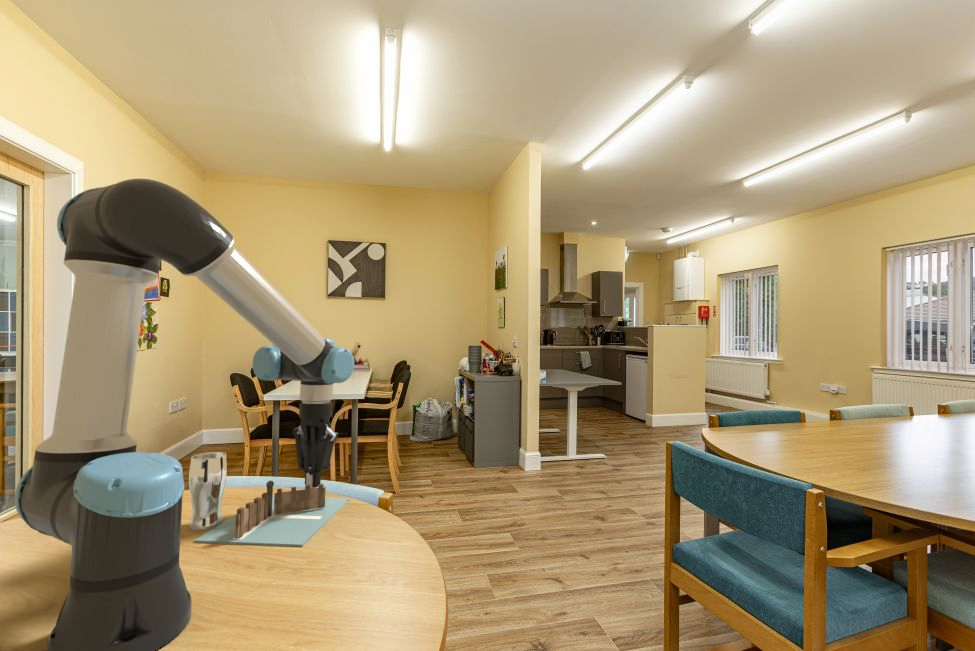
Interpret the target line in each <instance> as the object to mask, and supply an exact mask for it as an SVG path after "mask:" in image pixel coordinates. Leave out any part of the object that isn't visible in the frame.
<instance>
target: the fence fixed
mask: <svg viewBox="0 0 975 651" xmlns="http://www.w3.org/2000/svg"><path fill="white" fill-rule="evenodd" d="M265 486H266V492H263V493H262V494H261V497H259V496H258V497H255V498H254V499H253V502H252V501H248V502H247V503H245V507H239V508H237V509H236V514H235V515H236V527H235V538H241V537H242V536H243V534H244V533H245V532H249V531H251V530H252V527H254V526H258V525H259V524H260V522H261V521H262V520H266V519H267V517H270V516H272V497H273V496H274V495H273V494H274V493H273V492H274V486H275V482H274V481H273V480H267V482H266V485H265Z"/></svg>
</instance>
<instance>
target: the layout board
mask: <svg viewBox="0 0 975 651" xmlns="http://www.w3.org/2000/svg"><path fill="white" fill-rule="evenodd" d="M349 499H350V498H349V497H348V498H345V497H342V498H341V497H325V507H323V508H316V509H309V510H302V511H295V512H287V513H281V514H274V495H273V497H272V516H270V517H267V519H266V520H262V521H261V522H260V524H259V525H258V526H254V527H252V530H251V531H249V532H245V533H244V534H243V536H242V537H241V538H235V527H236V514H234V515H233V516H231V517H229V518H227V519H226V520H223V521H222V523H221V524H220V525H218V526H216V527H215V528H212V529H209V531H208V530H207V532H205V533H203V534H202V535H201V536H198V538H195V539H194V541H193V542H194V543H200V544H201V543H203V544H222V545H223V544H226V545H227V544H228V545H247V546H248V545H249V546H276V547H277V546H278V547H300V548H301V547H302V548H303V547H304V546H305V545H306V544H307V543H308V542H309V541H310V540H311V539H312V538H313V537H314V536H315V535H316V534H317V533H318V532H319V531H320V530H321V529H322V528H323V527H325V525H326V524H327V523H328V522H329V521H330V520H331V519H332V518H333V517H335V515H336V514H337V513H338V512H339V511H340V510H341V509H342V508H343V507H344V506H345V505H347V503H348V502H349V501H350V500H349ZM348 500H349V501H348Z"/></svg>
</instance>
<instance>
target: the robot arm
mask: <svg viewBox="0 0 975 651" xmlns="http://www.w3.org/2000/svg"><path fill="white" fill-rule="evenodd" d="M56 228H57V233H58V237H59V238H60V241H61V242H62V243H63V244H64V245H65V252H64V257H63V258H64V259H63V264H64V266H66V268H67V269H68V270H69V271H70V272H71V273H72V274H73V275H74V283H73V284H74V285H73V292H72V297H71V298H72V300H71V305H70V310H69V311H70V312H69V318H68V319H69V321H68V325H67V331H66V332H67V333H66V340H65V345H64V354H63V360H62V366H61V371H60V372H61V374H60V380H59V387H58V392H57V393H58V394H57V401H56V406H55V413H54V420H53V426H52V427H53V428H52V433H51V435H50V436H48V437H47V438H46V439H45V440H43V441H41V443H39V444H38V445H36V447H35V448H34V449H35V451H34V458H33V462H32V466H31V467H30V468H29V469H28V470H26V471H25V472H24V474H23V475H22V477H21V478H20V480H19V481H18V484H17V486H16V488H15V493H14V507H15V509H16V512H17V514H18V516H19V517H20V519H22V520H23V522H25V523H26V525H27V526H28V527H29V528H30V529H32V530H33V531H34V530H35V531H37V532H38V533H40V534H42V535H45V536H48V537H53V538H54V539H56V540H59V541H61V542H64V544H65V543H66V544H68V545H70V546H71V555H70V557H71V559H70V576H69V578H70V579H69V580H70V581H69V589H68V593H67V595H66V597H65V600H64V602H63V604H62V607H61V609H60V612H59V614H58V617H57V619H56V622H55V625H54V627H53V628H52V630H51V632H50V634H49V636H48V639H47V644H46V651H155V650H156V651H158V650H159V649H161V648H163V647H164V646H166V645H167V644H169V643H170V642H172V641H173V640H174V639H175V638H177V637H178V636H179V635H180V634H181V633H182V632H183V631H184V630H185V629H186V627H188V624H189V623H190V620H191V618H192V605H193V604H192V603H193V601H192V596H191V594H190V592H189V590H188V589H187V584H186V582H185V579H184V575H183V572H182V569H181V565H180V554H181V553H180V552H181V551H180V549H181V531H182V516H183V515H182V514H183V512H182V511H183V494H184V492H185V480H184V474H183V473H184V472H183V471H184V470H183V466H182V464H181V463H180V461H179V460H178V459H176V458H175V457H173V456H170V455H168V454H165V453H160V452H159V453H158V452H150V453H149V452H146V451H145V452H144V451H137V446H138V442H137V440H136V439H135V438H134V437H133V436H131V435H130V434H129V433H128V431H127V430H128V429H127V428H128V422H129V414H130V408H131V407H130V406H131V399H132V392H133V385H134V377H135V368H136V360H137V353H138V345H139V338H140V333H141V332H140V331H141V322H142V317H143V310H144V308H143V307H144V302H145V301H144V300H145V293H146V286H147V285H148V284H149V283H152V282H153V281H154V280H156V279H158V278H159V273H160V266H161V261H163V262H166V263H167V264H168V265H171V266H172V267H173V268H175V269H176V270H177V271H178V272H179V273H180V274H181V275H182V276H185V277H195V278H197V279H198V280H199V281H200V282H201V283H202V284H204V285H205V286H206V287H207V288H208V289H209V290H210V291H211V292H213V293H214V294H215V295H216V296H217V297H219V298H220V299H221V300H222V301H223V302H224V303H225V304H227V305H228V307H230V308H231V309H232V310H233V311H235V313H236V314H238V315H239V316H241V317H242V319H244V320H245V321H246V322H247V323H249V324H250V326H252V327H253V329H254V328H255V330H256V331H258V333H260V334H261V335H262V336H264V338H265V339H267V340H268V341H269V342H270V343H271V344H272V345H265V346H261V347H259V348H258V349H257V350H256V352H255V353H254V354H253V357H252V370H253V373H254V375H255V376H256V378H258V379H259V380H262V381H272V382H274V381H275V382H276V381H282V380H283V381H298V382H300V386H299V387H300V389H299V400H300V401H301V402H300V403H299V409H298V417H299V418H300V419H301V421H300V425H299V426H298V427H294V428H292V434H293V436H294V440H295V449H296V455H297V456H296V457H297V465H298V469H302V470H303V472H304V486H308V485H310V489H313V488H319V484H322V483H321V481H322V478H321V477H322V472H325V471H328V469H329V467H330V463H331V458H332V455H333V454H332V453H333V451H334V445H335V441H336V440H337V439H338V437H339V433H338V432H336V431H335V432H334V431H333V430H332V429H331V424H330V419H331V417H333V402H332V400H333V399H334V397H333V396H334V395H333V394H334V384H343V383H344V382H346V381H348V380H349V379H350V377H351V376H352V373H353V372H354V369H355V359H354V356H353V353H352V352H351V351H350V350H349V349H347V348H346V347H341V346H338V345H336V343H335V340H334V339H332V338H324V336H323V335H321V333H320V332H318V330H317V329H316V328H314V326H313V325H312V324H311V323H310V322H309V321H308V320H307V319H306V318H305V317H304V316H303V315H302V314H301V313H300V312H299V311H298V310H297V309H296V308H295V307H294V306H293V305H292V304H291V303H290V302H289V301H288V300H287V299H286V298H285V297H284V296H283V295H282V294H281V293H280V291H278V290H277V288H275V287H274V286H273V284H271V283H270V281H269V280H268V279H267V278H265V276H263V275H262V273H261V272H260V271H259V270H258V269H257V268H256V267H255V266H254V265H253V264H252V263H251V262H250V261H249V260H248V259H247V258H246V257H245V256H244V255H243V254H242V253H241V252H240V251H239V249H238V248H236V247H235V237H234V236H233V235H232V233H230V231H228V229H227V228H226V227H224V225H223V224H222V223H221V222H220V221H219V220H218V219H217V218H215V217H214V216H213V215H212V214H211V213H210V212H209V211H208V210H206V209H205V208H204V207H203V206H202V205H200V204H199V203H198V202H197V201H195V200H194V199H192V198H191V197H190V196H188V195H187V194H186V193H184V192H182V191H180V189H178V188H175V187H174V186H171V185H168V184H167V183H163V182H162V181H158V180H154V179H149V178H130V179H126V180H122V181H119V182H117V183H113V184H110V185H106V186H101V187H100V186H99V187H96V188H90V189H87V190H84V191H82V192H79V193H78V194H76V195H75V196H73V197H72V198H70V199H69V200H67V202H65V204H64V205H63V206H62V208H61V209H60V211H59V213H58V217H57V219H56ZM177 635H178V636H177ZM172 639H173V640H172ZM168 642H169V643H168ZM160 647H161V648H160Z"/></svg>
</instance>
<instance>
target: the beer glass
mask: <svg viewBox="0 0 975 651" xmlns="http://www.w3.org/2000/svg"><path fill="white" fill-rule="evenodd" d="M190 458H191V459H190V463H189V464H190V465H189V471H188V473H189V474H188V488H189V494H190V495H189V496H190V500H191V502H190V503H191V517H190V521H189V525H188V528H189V530H191V531H195V532H196V531H197V532H200V531H208V530H212V529H213V528H215V527H216V526H218V525H220V524H221V523H223V516H222V500H223V496H224V492H225V486H226V481H227V473H228V472H227V471H228V470H227V469H228V468H227V467H228V466H227V464H228V462H227V453H226V452H224V451H223V452H222V451H209V452H202V453H201V452H200V453H196V454H193V455H192V456H191V457H190Z"/></svg>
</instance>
